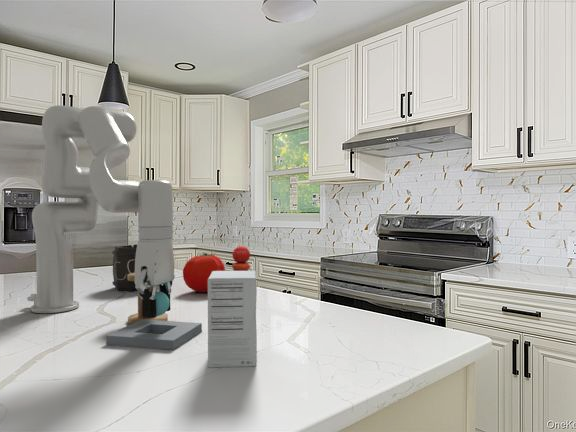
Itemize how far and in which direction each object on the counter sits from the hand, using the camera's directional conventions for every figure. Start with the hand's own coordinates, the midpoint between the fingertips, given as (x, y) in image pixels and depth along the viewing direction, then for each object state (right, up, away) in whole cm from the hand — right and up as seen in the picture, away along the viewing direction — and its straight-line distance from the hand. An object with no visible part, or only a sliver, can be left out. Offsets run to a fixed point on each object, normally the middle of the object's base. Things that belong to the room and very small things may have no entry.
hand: (156, 312), depth 99 cm
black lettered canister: (-26, -5, +63) cm, 68 cm away
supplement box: (+19, -6, -14) cm, 24 cm away
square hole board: (0, -6, 0) cm, 6 cm away
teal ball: (0, -1, 0) cm, 1 cm away
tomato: (0, -5, +55) cm, 55 cm away
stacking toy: (+16, -5, +26) cm, 31 cm away
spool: (-7, -5, +15) cm, 18 cm away
